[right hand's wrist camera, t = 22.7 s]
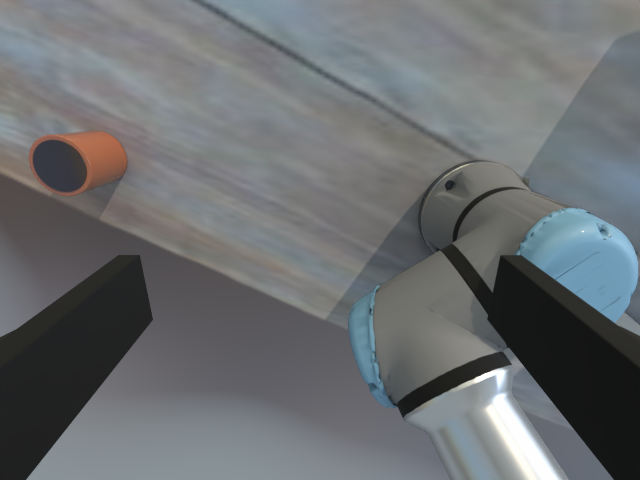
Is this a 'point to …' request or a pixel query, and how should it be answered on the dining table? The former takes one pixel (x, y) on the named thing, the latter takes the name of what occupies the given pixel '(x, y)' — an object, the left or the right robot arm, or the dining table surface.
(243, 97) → the dining table surface
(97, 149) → the terracotta pot
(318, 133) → the dining table surface
